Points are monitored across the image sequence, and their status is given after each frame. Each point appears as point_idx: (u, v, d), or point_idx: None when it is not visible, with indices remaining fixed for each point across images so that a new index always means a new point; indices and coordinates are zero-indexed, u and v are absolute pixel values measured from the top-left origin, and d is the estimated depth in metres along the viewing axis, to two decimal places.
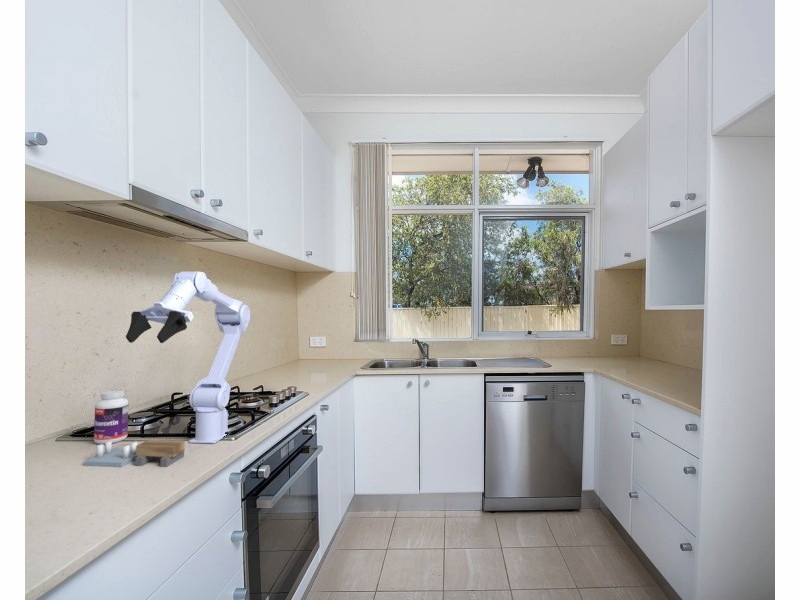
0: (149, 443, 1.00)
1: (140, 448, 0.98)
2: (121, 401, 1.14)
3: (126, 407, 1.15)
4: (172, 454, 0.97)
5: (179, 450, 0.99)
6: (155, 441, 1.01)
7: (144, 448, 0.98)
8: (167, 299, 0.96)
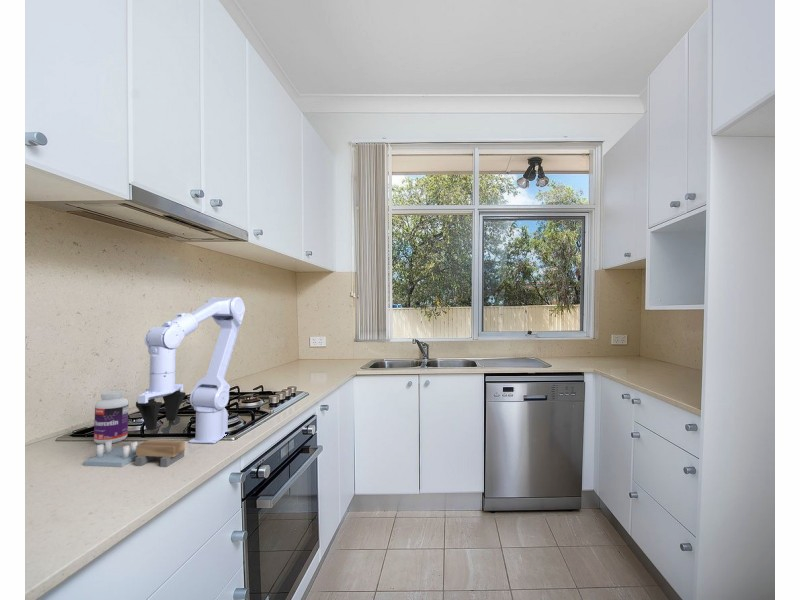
0: (149, 443, 1.00)
1: (140, 448, 0.98)
2: (121, 401, 1.14)
3: (126, 407, 1.15)
4: (172, 454, 0.97)
5: (179, 450, 0.99)
6: (155, 441, 1.01)
7: (144, 448, 0.98)
8: None
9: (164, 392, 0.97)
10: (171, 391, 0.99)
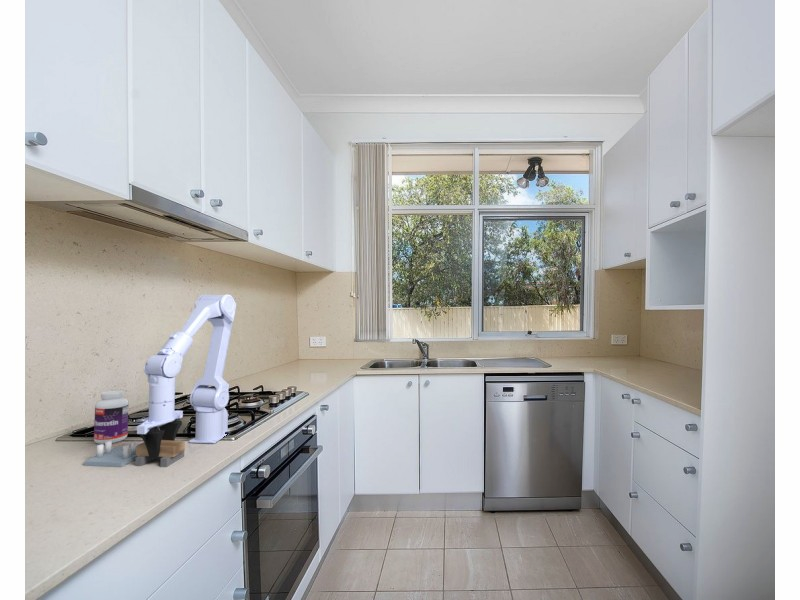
0: None
1: (140, 448, 0.98)
2: (121, 401, 1.14)
3: (126, 407, 1.15)
4: (172, 454, 0.97)
5: (179, 450, 0.99)
6: None
7: (144, 448, 0.98)
8: None
9: (163, 421, 0.97)
10: (170, 420, 0.99)
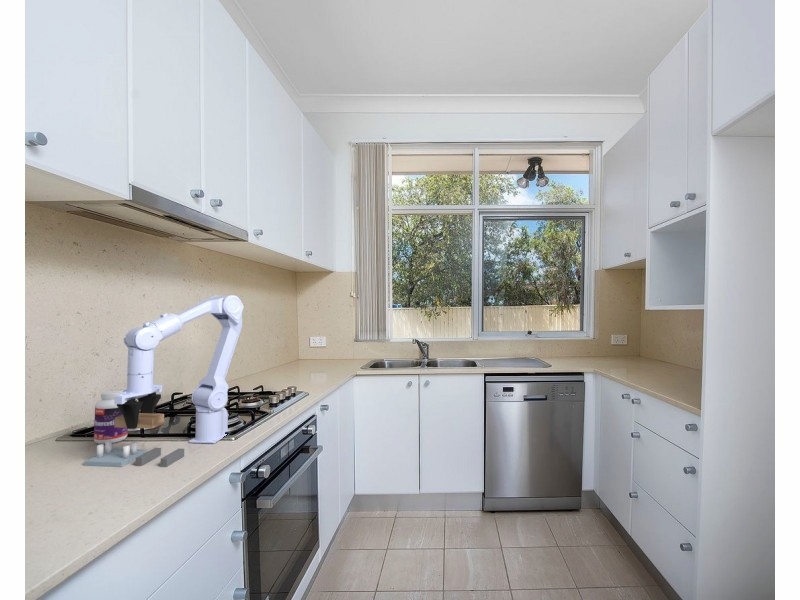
0: None
1: (119, 420, 0.98)
2: None
3: None
4: (151, 425, 0.98)
5: (158, 422, 1.00)
6: None
7: (123, 420, 0.98)
8: None
9: (142, 393, 0.98)
10: (149, 392, 0.99)
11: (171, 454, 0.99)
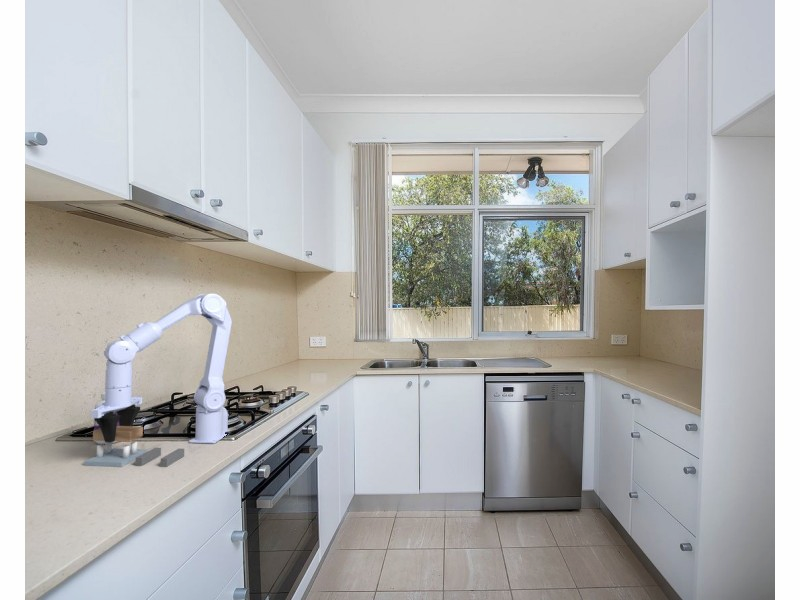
0: None
1: (97, 433, 0.99)
2: None
3: None
4: (128, 439, 0.98)
5: (136, 435, 1.00)
6: None
7: (101, 433, 0.98)
8: None
9: (119, 406, 0.98)
10: (127, 405, 1.00)
11: (171, 454, 0.99)
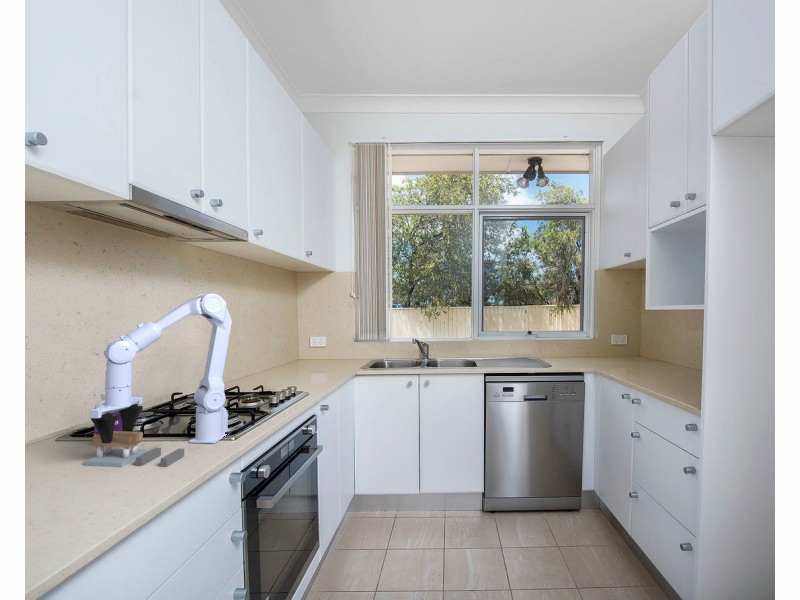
0: None
1: (97, 439, 0.99)
2: None
3: None
4: (128, 444, 0.98)
5: (136, 441, 1.00)
6: (113, 432, 1.02)
7: None
8: None
9: (119, 406, 0.98)
10: (127, 405, 1.00)
11: (171, 454, 0.99)
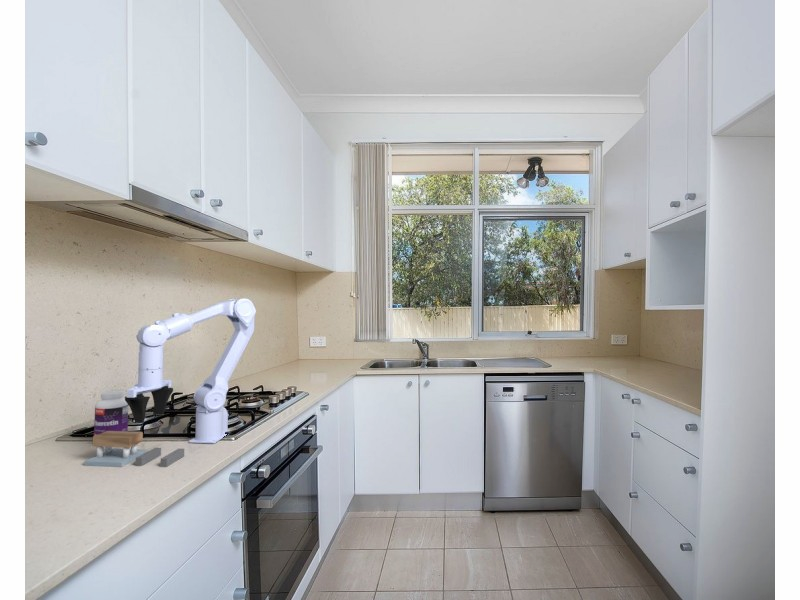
0: (106, 434, 1.01)
1: (97, 439, 0.99)
2: (121, 401, 1.14)
3: (126, 407, 1.15)
4: (128, 444, 0.98)
5: (136, 441, 1.00)
6: (113, 432, 1.02)
7: (101, 439, 0.98)
8: None
9: (152, 387, 1.03)
10: (159, 386, 1.05)
11: (171, 454, 0.99)
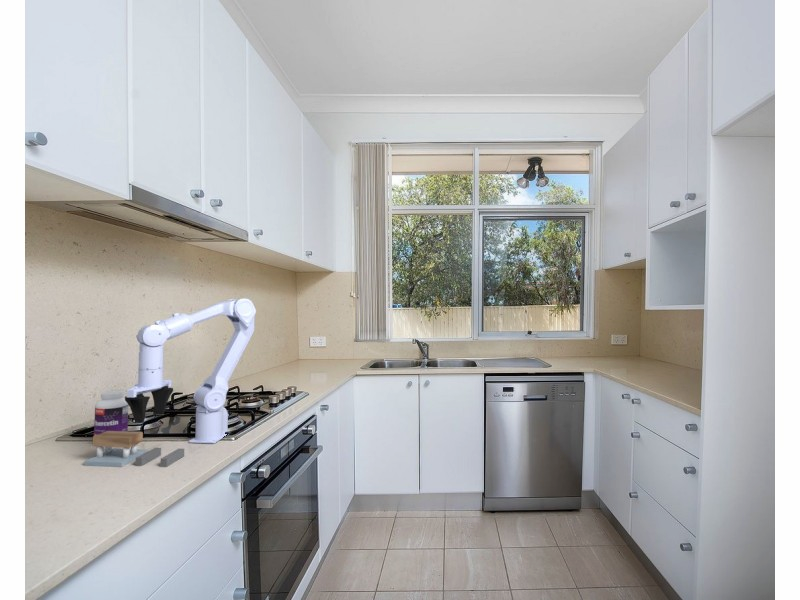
0: (106, 434, 1.01)
1: (97, 439, 0.99)
2: (121, 401, 1.14)
3: (126, 407, 1.15)
4: (128, 444, 0.98)
5: (136, 441, 1.00)
6: (113, 432, 1.02)
7: (101, 439, 0.98)
8: None
9: (152, 387, 1.03)
10: (159, 386, 1.05)
11: (171, 454, 0.99)
